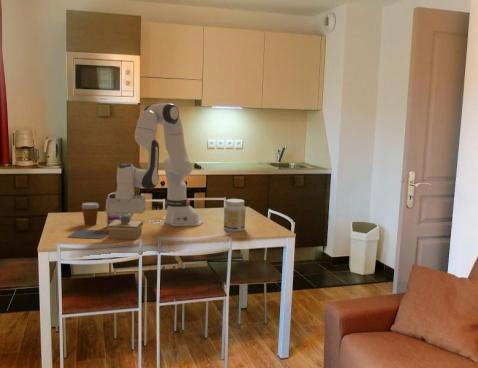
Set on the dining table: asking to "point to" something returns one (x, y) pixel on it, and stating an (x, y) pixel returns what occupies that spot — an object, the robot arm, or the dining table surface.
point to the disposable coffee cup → (90, 213)
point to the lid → (125, 224)
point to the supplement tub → (234, 215)
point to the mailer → (125, 234)
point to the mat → (89, 234)
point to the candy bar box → (113, 216)
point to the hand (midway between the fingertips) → (125, 220)
